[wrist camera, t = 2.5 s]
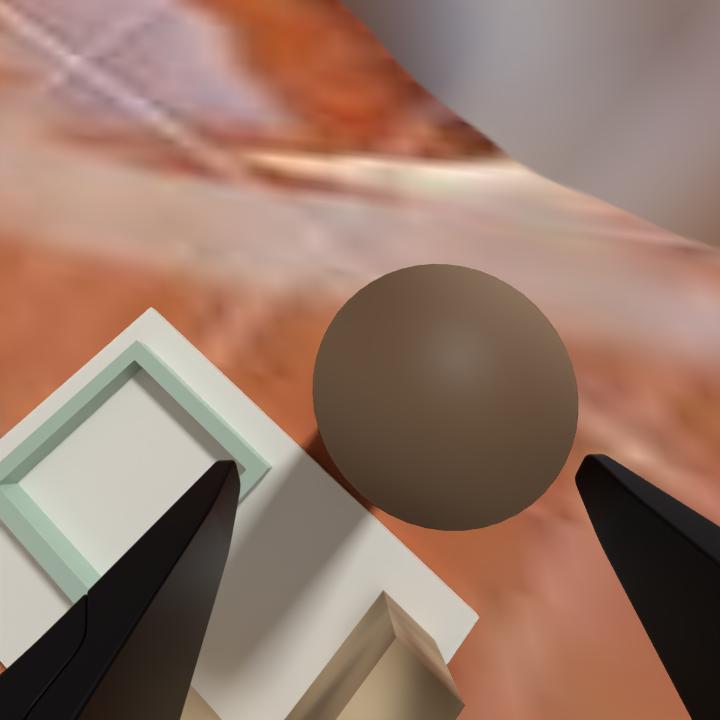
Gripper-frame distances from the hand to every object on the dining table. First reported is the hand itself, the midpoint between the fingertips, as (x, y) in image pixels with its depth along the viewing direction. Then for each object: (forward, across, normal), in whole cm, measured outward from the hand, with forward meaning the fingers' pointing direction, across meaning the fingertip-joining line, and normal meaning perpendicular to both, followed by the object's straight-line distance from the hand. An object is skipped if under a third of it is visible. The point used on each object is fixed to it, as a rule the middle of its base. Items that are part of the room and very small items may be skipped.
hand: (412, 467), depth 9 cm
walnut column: (+8, 0, +5) cm, 9 cm away
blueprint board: (+3, +9, +10) cm, 14 cm away
